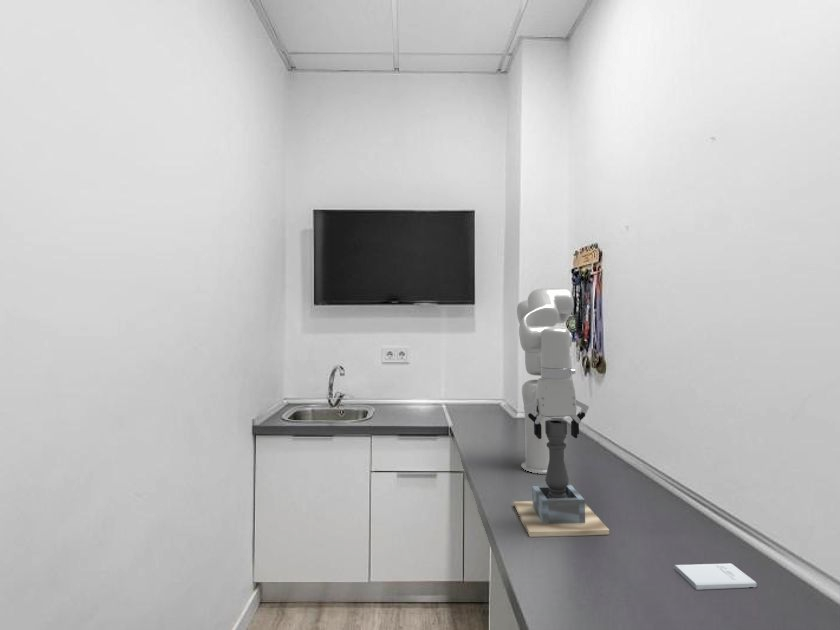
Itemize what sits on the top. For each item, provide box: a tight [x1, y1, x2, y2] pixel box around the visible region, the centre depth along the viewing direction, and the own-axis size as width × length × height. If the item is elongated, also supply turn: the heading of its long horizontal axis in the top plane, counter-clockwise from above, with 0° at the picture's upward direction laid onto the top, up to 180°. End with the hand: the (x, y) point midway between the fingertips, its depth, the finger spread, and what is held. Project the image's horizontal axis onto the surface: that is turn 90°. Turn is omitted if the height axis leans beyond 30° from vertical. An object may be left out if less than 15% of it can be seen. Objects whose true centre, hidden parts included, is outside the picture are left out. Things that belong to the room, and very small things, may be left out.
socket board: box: [512, 484, 610, 538], centre depth 135 cm, size 20×20×7 cm
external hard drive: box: [673, 563, 758, 591], centre depth 105 cm, size 2×8×12 cm
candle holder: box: [544, 419, 570, 499], centre depth 136 cm, size 6×6×25 cm
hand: (556, 437), depth 135 cm, fingers open, 9 cm apart
